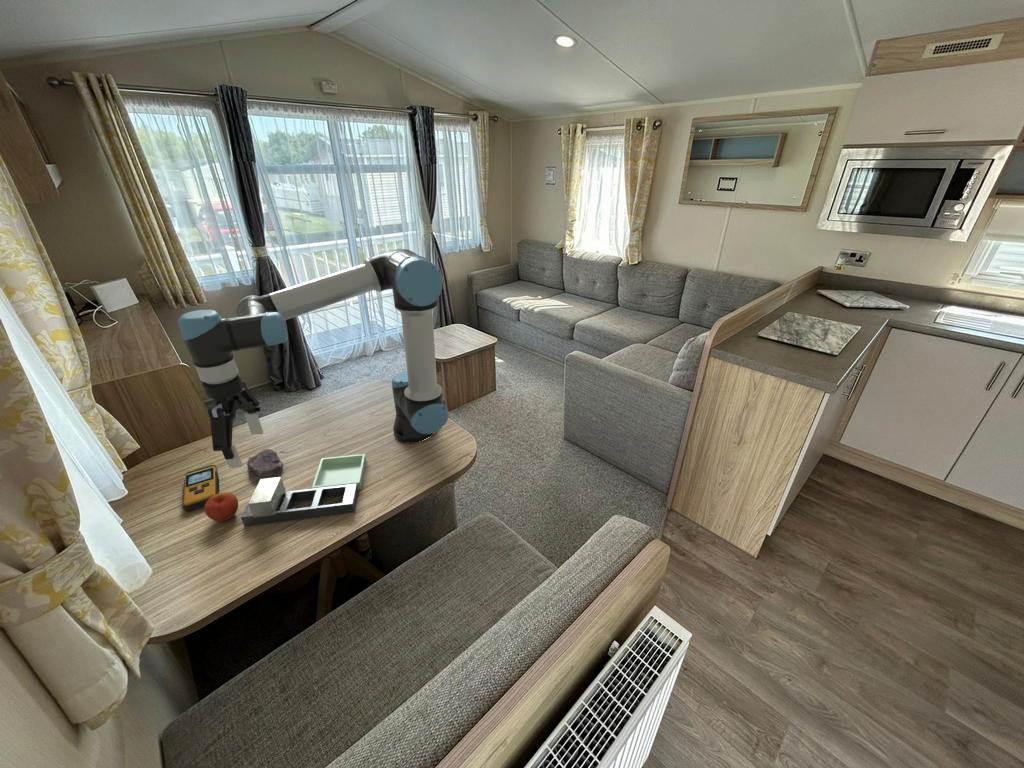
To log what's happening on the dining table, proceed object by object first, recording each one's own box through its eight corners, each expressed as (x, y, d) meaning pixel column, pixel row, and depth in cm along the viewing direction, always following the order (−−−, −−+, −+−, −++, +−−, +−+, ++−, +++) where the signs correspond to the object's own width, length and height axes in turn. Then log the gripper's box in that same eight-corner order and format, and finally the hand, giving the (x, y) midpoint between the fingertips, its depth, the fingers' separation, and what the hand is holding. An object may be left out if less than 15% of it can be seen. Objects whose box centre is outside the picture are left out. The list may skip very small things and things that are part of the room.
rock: (263, 484, 120) (258, 472, 118) (245, 469, 126) (240, 458, 124) (289, 470, 126) (286, 458, 124) (271, 456, 132) (267, 445, 129)
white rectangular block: (288, 498, 115) (280, 476, 111) (278, 523, 107) (270, 501, 103) (268, 500, 114) (260, 479, 110) (257, 526, 106) (248, 503, 102)
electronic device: (184, 515, 110) (180, 506, 108) (187, 480, 121) (182, 472, 120) (221, 503, 114) (216, 494, 112) (219, 470, 125) (215, 462, 124)
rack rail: (358, 492, 118) (356, 483, 116) (354, 512, 111) (352, 503, 109) (255, 504, 113) (251, 495, 111) (244, 526, 106) (240, 517, 105)
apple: (231, 503, 113) (222, 482, 109) (248, 512, 111) (239, 491, 107) (204, 521, 108) (193, 499, 104) (221, 531, 105) (211, 509, 101)
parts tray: (366, 461, 130) (365, 453, 129) (361, 489, 119) (359, 482, 117) (323, 465, 128) (321, 458, 126) (313, 495, 117) (311, 487, 115)
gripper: (227, 355, 103) (251, 422, 113) (171, 406, 81) (207, 484, 92) (258, 353, 104) (279, 420, 114) (212, 404, 83) (242, 481, 93)
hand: (247, 449), depth 103 cm, fingers open, 13 cm apart
